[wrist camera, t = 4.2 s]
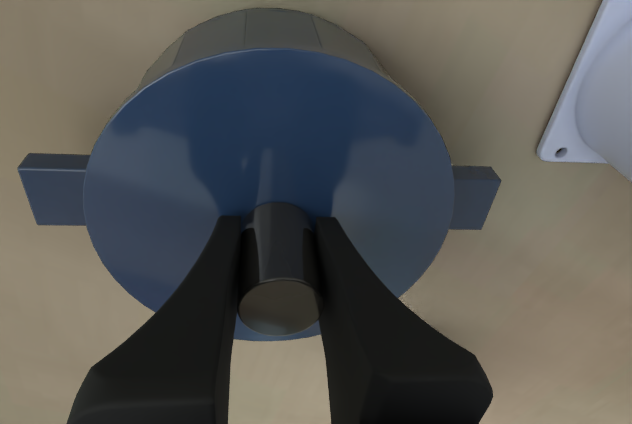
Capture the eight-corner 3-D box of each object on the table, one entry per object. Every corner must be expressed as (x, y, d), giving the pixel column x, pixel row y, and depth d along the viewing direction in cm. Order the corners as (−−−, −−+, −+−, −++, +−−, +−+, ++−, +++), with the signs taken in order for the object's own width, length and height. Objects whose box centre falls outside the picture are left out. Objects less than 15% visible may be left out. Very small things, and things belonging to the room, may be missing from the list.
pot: (27, -12, 15) (-51, 32, 11) (496, 24, 17) (562, 70, 14) (94, 242, 22) (59, 323, 18) (425, 244, 24) (456, 316, 20)
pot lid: (49, 18, 12) (-43, 89, 8) (492, 49, 13) (577, 119, 10) (124, 322, 19) (93, 430, 15) (404, 318, 20) (434, 414, 17)
